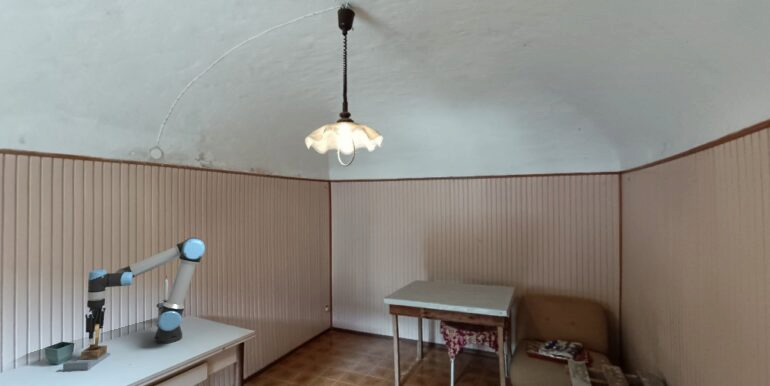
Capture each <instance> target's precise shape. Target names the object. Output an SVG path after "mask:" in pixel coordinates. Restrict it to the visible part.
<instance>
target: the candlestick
mask: <svg viewBox="0 0 770 386" xmlns="http://www.w3.org/2000/svg"><path fill="white" fill-rule="evenodd" d="M168 289H169V280H168V275H167V274H165V280H164V297H163V298H164V299H163V300H162V301H163V302H167V300H168V297H169V294H168V293H169V290H168ZM160 303H161V302H159V303H157V304H156V308H158V307H159V304H160ZM156 325H157V327H158V323H157V324H156Z"/></svg>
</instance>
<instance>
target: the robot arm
mask: <svg viewBox="0 0 770 386" xmlns="http://www.w3.org/2000/svg"><path fill="white" fill-rule="evenodd" d="M205 250H206V246H205V243H204V242H203V241H202V240H201V239H200V238H198V237H189V238H187V239H184V240H183V241H181V242H178V243H176V244H175V245H174V246H173V247H172V248H171V247H170V248H169V249H166V250H164V251H162V252H159V253H157V254H155V255H152V256H148V257H147V258H145V259H142V260H139V261H137V262H135V263H133V264H129V265H128V266H125V267H121V268H119V269H117V270H116V271H115V272H111V273H109V272H107V270H106V269H94V270H91V271H90V272H88V273H89V274H88V279H87V280H88V281H87V283H88V284H87V303H86V307H87V308H88V309H89V311H88V313H87V314H85V315H84V317H85V333H88V343H87V344H88V345H89V346H90V344H95V332H94V331H95V324H99V338H98V342H100V341H101V329H103V328H104V324H105V323H104V322H105V314H106V313H105V311H106V309H107V308H106V307H104V306H105V304H106V290H107V289H106V288H111V287H112V288H114V287H115V288H116V287H127V286H131V285H132V284H133V279H134V278H135V277H138V276H140V275H143V274H145V273H147V272H149V271H152V270H154V269H157V268H159V267H161V266H164V265H166V264H168V263H169V264H170V263H171V262H174V261H175V260H179V261H180V262H179V266H178V269H177V271H176V273H175V278H174V280H173V284H172V286H171V289H170V292H169V294H168V298H167V299H168V300H167V302H164V301H163V302H159V303H160V304H159V303H158V304H159V307H157V309H158V316H157V324H158V326H157V329H156V332H155V335H154V337H153V339H154V340H153V342H154V343H155V344H160V345H161V344H163V345H164V344H170V343H175V342H178V341H180V340H182V339H183V331H182V329H181V326H180V325H181V323H182V316H183V313H184V310H185V305H184V302H185V299H186V295H187V293H188V289H189V287H190V284H191V281H192V278H193V275H194V272H195V269H196V267H197V265H198V264H200V263H201V261H202V260H201V259H202V257H203V255H204V254H205V252H206V251H205Z"/></svg>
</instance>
